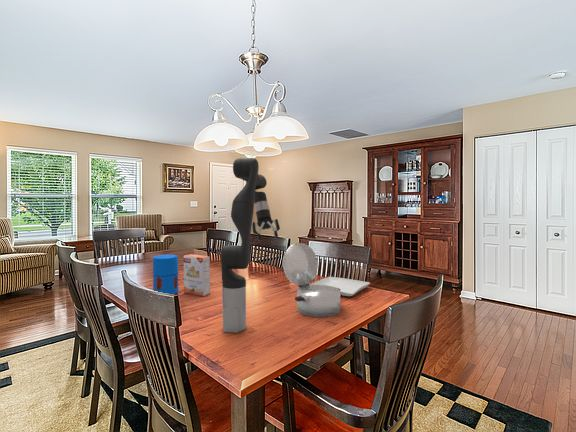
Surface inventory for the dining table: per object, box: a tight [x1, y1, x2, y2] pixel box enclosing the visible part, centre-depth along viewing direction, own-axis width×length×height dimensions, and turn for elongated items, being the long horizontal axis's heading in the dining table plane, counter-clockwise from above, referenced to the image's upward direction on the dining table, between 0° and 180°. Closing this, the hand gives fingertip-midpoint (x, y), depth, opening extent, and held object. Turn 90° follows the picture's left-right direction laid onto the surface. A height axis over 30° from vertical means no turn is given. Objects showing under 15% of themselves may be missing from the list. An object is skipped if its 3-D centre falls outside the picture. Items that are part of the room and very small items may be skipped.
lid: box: [282, 242, 318, 288], centre depth 158 cm, size 22×21×2 cm
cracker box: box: [183, 253, 211, 297], centre depth 172 cm, size 14×6×21 cm, turn 62°
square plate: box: [310, 276, 371, 297], centre depth 181 cm, size 27×27×4 cm
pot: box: [294, 284, 341, 318], centre depth 148 cm, size 20×26×9 cm
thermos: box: [152, 254, 180, 297], centre depth 146 cm, size 11×11×25 cm
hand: (268, 239), depth 166 cm, fingers open, 8 cm apart
